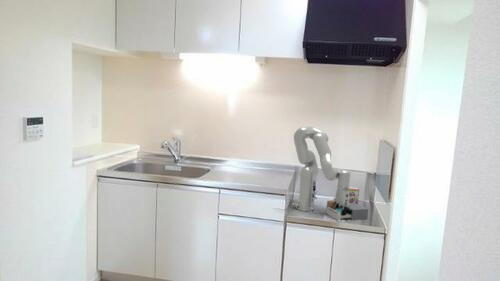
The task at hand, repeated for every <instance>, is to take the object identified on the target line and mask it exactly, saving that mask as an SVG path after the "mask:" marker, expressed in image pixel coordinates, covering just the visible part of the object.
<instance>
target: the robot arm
mask: <svg viewBox="0 0 500 281" xmlns="http://www.w3.org/2000/svg"><path fill="white" fill-rule="evenodd" d="M306 139H310V140H312V141H313V144H314V147H315V148H316V151H317V153H318V156H319V161H320V167H321V170H322V173H323V176H324V178H326V180H328V181H334V180H337V188H336V190H335V191H336V192H335V197H334V198H333V201H334V202H335V211H336V208H340V205H342V207H343V210H342V216H343V215H346V210H347V209H348V208H349V207H350V206H349V191H348V190H349V187H350V179H351V172H350V171H349V170H347V169H340V168H337V167H334V166H333V165H332V162H331V157H332V151H331V148H330V145H329V144H328V142H329V136H328V134H327V133H325V132H323V131H321V130H320V129H317V128H315V127H314V126H309V125H308V126H301V127H298V128H297V129H296V131H295V132H294V134H293V141H294V146H295V152H296V155H297V159H298V162H299V163H300V164H301V165H304V166H303V167H302V168H301V169H300V172H299V192H298V201H297V202H292V203H291V206H295V208H296V209H297V210H299V211H303V212H311V211H313V210H314V207H313V206H312V204H313V203H312V202H313V192H314V178H315V177H317V175H318V174H319V166H318V163H317V158H316V155H315V153H314V152H313V151H312V150H310V149H309V147H308V143H307V141H306ZM344 204H345V205H344ZM344 206H345V208H344Z"/></svg>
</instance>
